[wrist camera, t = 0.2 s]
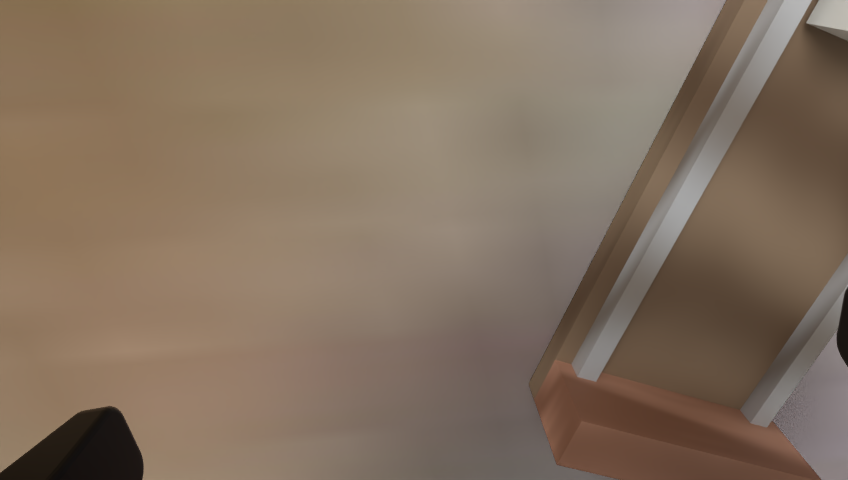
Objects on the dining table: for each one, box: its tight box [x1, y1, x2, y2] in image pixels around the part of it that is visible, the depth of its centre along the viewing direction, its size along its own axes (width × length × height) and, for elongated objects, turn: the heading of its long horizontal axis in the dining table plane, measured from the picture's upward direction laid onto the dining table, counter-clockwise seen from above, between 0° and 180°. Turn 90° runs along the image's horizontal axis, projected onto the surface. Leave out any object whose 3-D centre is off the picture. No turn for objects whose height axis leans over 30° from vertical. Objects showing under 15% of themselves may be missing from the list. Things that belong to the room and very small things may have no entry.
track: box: [529, 0, 848, 480], centre depth 21 cm, size 24×10×4 cm, turn 160°
